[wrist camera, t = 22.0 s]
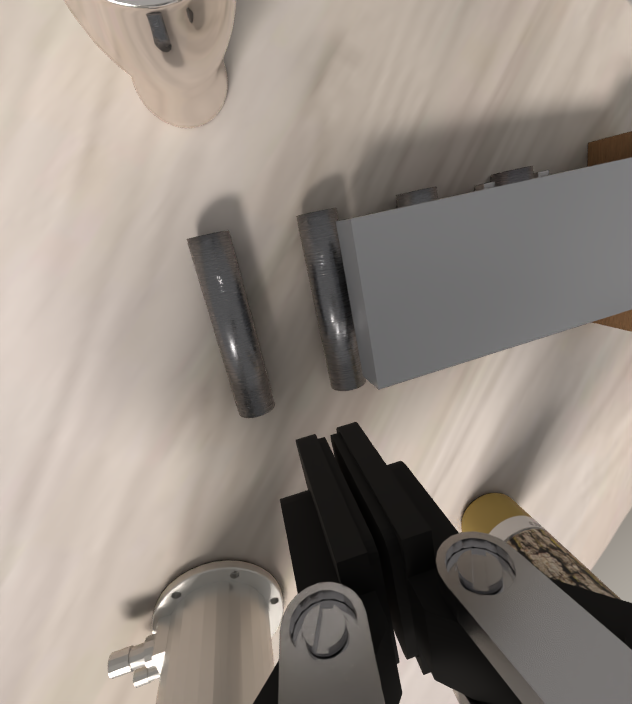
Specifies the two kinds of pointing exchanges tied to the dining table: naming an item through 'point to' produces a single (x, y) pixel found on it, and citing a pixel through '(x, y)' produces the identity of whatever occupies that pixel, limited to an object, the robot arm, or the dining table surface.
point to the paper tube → (529, 540)
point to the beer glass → (166, 51)
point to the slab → (487, 269)
